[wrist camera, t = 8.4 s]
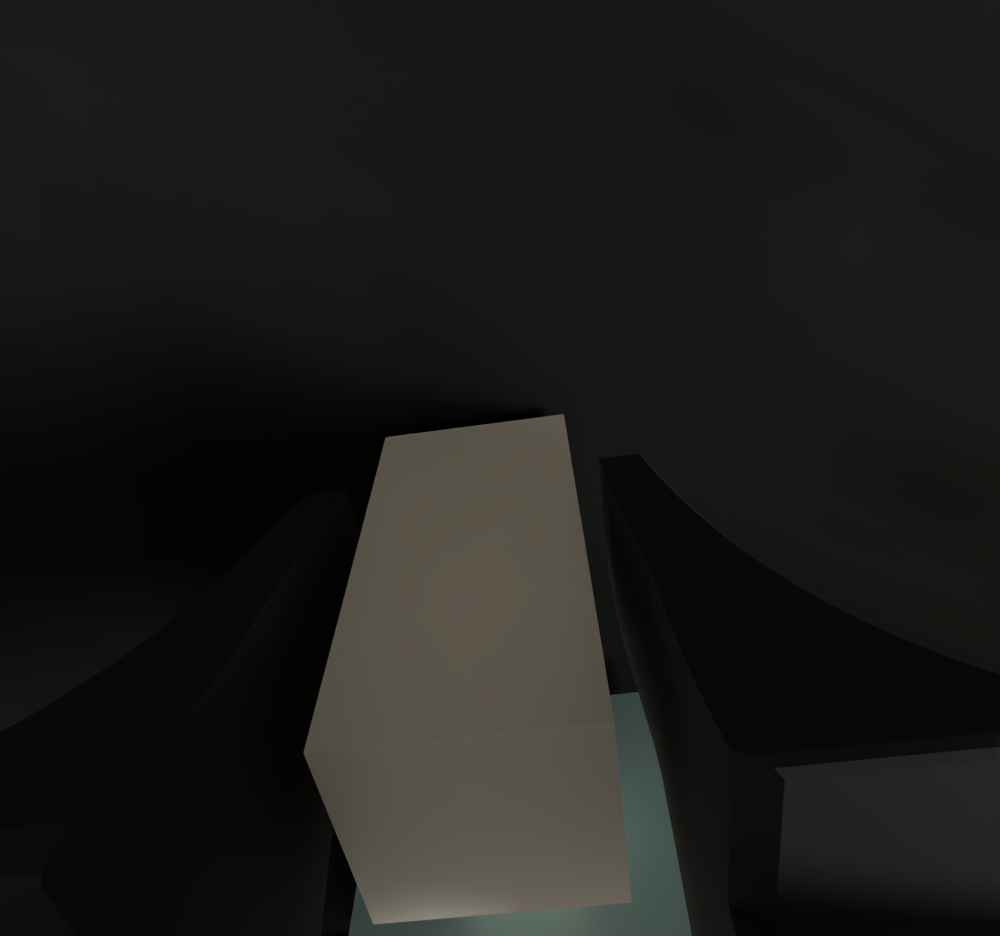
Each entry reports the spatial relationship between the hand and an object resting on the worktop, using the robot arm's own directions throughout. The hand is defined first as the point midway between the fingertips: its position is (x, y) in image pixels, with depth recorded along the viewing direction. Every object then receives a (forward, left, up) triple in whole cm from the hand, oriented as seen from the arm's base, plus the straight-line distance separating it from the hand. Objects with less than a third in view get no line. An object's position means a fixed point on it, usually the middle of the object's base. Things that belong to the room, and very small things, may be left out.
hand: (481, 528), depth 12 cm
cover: (0, +7, -2) cm, 7 cm away
